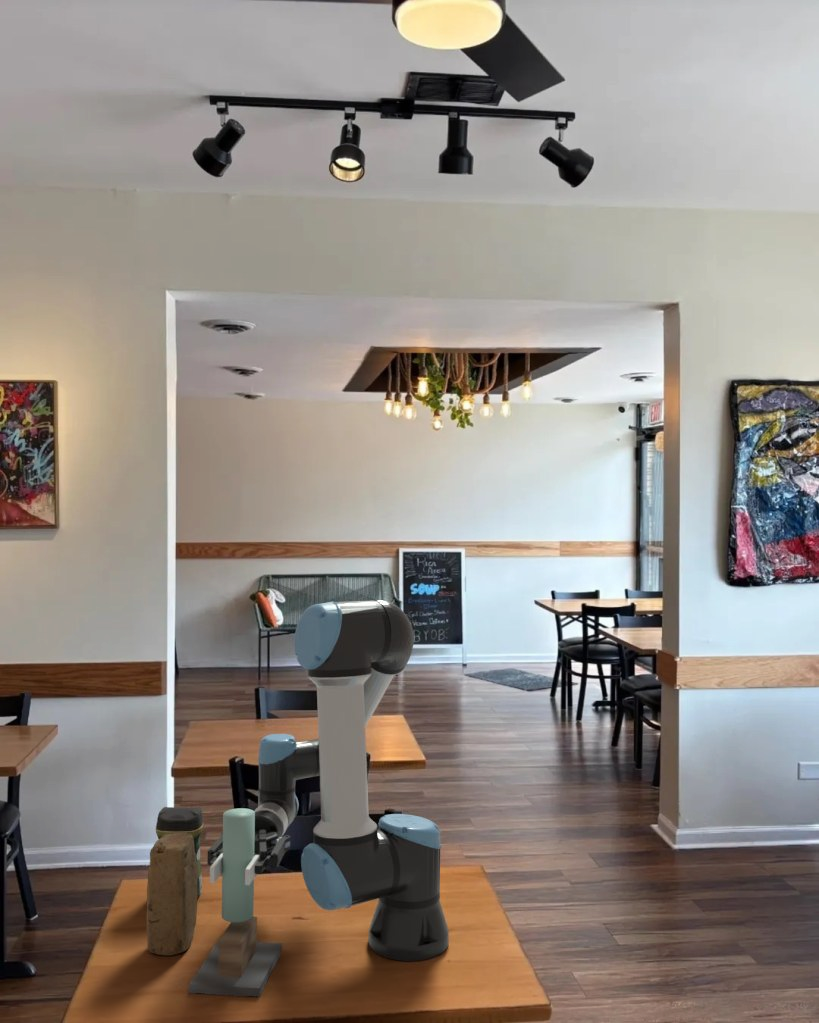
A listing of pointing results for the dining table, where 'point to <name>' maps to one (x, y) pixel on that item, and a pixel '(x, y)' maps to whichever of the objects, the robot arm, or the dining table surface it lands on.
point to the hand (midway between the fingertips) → (229, 876)
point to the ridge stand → (237, 963)
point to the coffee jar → (183, 829)
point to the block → (171, 894)
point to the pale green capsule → (237, 864)
